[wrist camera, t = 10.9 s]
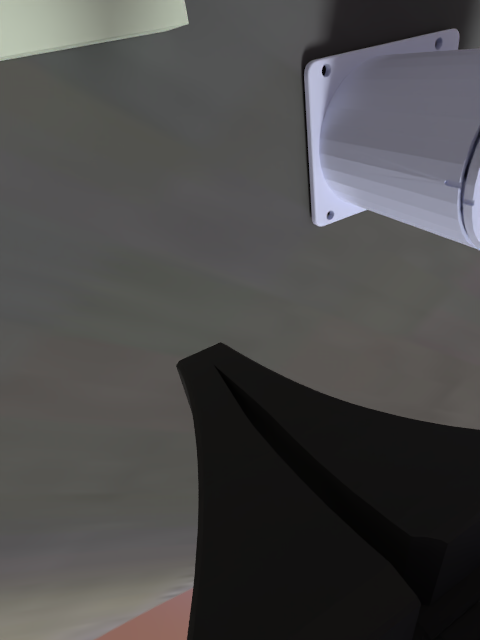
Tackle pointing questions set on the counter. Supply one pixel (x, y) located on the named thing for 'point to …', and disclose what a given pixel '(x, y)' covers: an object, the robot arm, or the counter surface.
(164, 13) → the sage board
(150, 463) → the counter surface
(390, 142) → the robot arm
